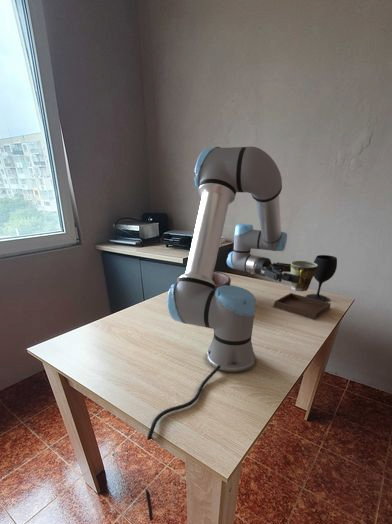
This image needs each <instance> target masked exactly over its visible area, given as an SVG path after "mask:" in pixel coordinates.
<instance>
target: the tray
mask: <svg viewBox="0 0 392 524" xmlns="http://www.w3.org/2000/svg"><path fill="white" fill-rule="evenodd" d="M273 308H276V309H279V310H282V311H285V312H289V313H291V314H295V315H298V316H301V317H304V318H307V319H311V320H314V321H315V320H317V319H318V318H319V317H321V316H322V315H324V314H325V313H327V312H328V311H330V309H331V303H330V302H328V301H327V302H323V301H319V300H315V299H312V298H308V297H306V296H304V295H300V294H296V293H293V292H290V293H288V294H285V295H284V296H282V297H280V298H278V299H275V301H274V302H273Z"/></svg>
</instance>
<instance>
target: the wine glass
mask: <svg viewBox="0 0 392 524" xmlns="http://www.w3.org/2000/svg"><path fill="white" fill-rule="evenodd" d="M313 263H315V264H317V265H318V267H317V270H316V272H315V274H314V276H313V278H314V279H315V280H316V281H317V282H318V288H317V292H316V293H311V294H307V295H306V296H305V297H308V298H312V299H315V300H319V301H323V302H327V303H328V301H329V298H328V297H327V296H326V295H322V294H321V293H320V292H321V288H322V285H323V283H325V282H327V281H329V280H330V279H332V278H333V277H334V275H335V274H336V271H337V268H338V267H337V266H338V258H337V257H336V256H334V255H329V254H328V255H327V254H320V255H316V257H315V258H314V261H313Z"/></svg>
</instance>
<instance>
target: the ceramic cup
mask: <svg viewBox="0 0 392 524" xmlns="http://www.w3.org/2000/svg"><path fill="white" fill-rule="evenodd" d="M290 264H291V272H290V274H293V275H297V276H300V279H299V283H298V284H297V283H293V282H290V288H291V290H293V291H295V292H307V291H308V290H309V287H310V285H311V282H312V280H313V278H314V274H315V272H316V270H317V267H318V265H317V264H315V263H314V261H313V262H312V261H307V260H293V261H292V262H290Z"/></svg>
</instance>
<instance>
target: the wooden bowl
mask: <svg viewBox="0 0 392 524" xmlns="http://www.w3.org/2000/svg"><path fill="white" fill-rule="evenodd" d="M183 274H185V272H184V273H181V274H179V275H178V277H177V279H176V281H177V283H178V281H179V277H180V276H182V275H183ZM212 280H213V282H214V283H215V290H216V289H217V288H218V287H220V286H223V285H227V286H229V285H231V283H232V280H231V278H230V276H229V275H227V274H225V273H222V272H218V271H214V272H213V277H212Z"/></svg>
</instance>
